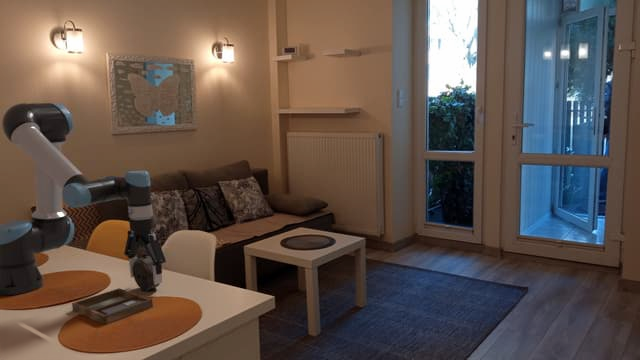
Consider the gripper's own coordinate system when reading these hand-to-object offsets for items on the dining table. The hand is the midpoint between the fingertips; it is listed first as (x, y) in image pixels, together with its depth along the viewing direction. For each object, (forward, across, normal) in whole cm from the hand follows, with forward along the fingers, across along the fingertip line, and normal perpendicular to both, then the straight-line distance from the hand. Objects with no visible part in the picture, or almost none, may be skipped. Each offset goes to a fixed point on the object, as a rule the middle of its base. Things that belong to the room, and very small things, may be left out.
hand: (146, 279), depth 173 cm
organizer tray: (+4, +6, -16) cm, 18 cm away
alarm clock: (+4, 0, 0) cm, 4 cm away
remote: (+4, +12, -16) cm, 20 cm away
